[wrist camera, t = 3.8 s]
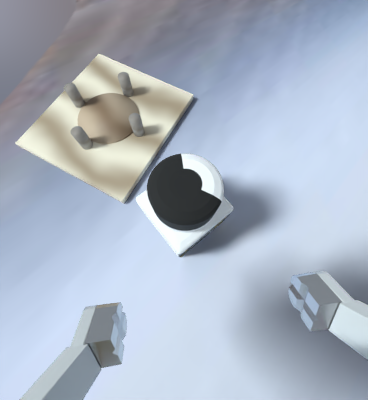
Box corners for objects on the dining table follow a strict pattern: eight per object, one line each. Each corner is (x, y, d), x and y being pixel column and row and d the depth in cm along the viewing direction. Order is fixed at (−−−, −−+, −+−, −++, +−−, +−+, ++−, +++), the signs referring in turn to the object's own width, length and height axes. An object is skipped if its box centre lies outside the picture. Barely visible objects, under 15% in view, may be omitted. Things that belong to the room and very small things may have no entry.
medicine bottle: (179, 258, 25) (178, 252, 13) (145, 214, 27) (119, 177, 15) (221, 222, 26) (253, 190, 15) (187, 183, 28) (191, 127, 17)
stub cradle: (101, 59, 35) (91, 34, 31) (192, 99, 32) (194, 77, 29) (20, 147, 29) (-4, 129, 26) (124, 203, 27) (114, 193, 23)
